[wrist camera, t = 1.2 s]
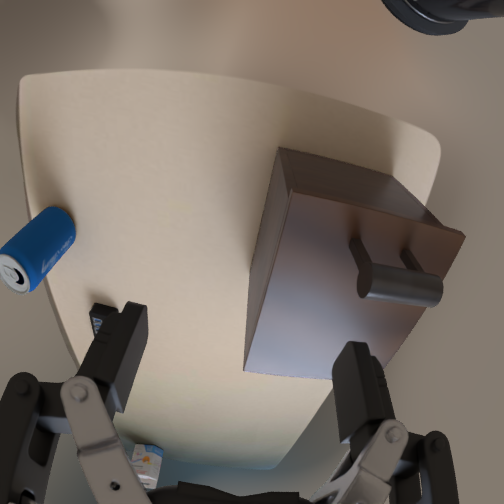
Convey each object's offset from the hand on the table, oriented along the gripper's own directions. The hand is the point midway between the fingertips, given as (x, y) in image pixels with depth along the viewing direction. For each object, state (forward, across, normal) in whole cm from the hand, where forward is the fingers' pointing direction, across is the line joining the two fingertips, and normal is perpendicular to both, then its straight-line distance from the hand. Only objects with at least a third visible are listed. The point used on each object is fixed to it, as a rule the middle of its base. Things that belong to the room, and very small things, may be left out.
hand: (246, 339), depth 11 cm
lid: (+9, -9, +6) cm, 14 cm away
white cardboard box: (+22, +16, +92) cm, 96 cm away
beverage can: (+24, +25, +13) cm, 37 cm away
